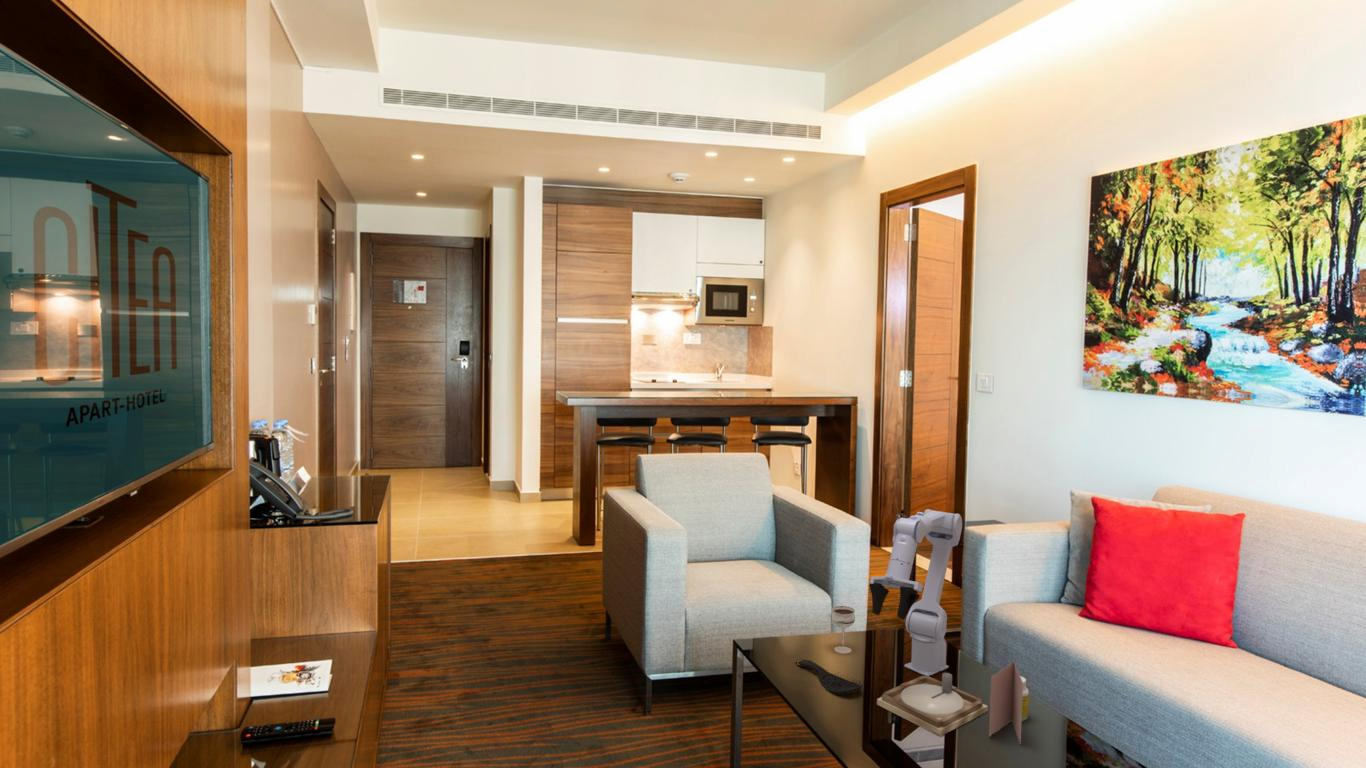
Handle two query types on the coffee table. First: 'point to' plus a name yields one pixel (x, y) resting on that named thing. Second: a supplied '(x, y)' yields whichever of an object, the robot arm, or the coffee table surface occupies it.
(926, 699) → the dial
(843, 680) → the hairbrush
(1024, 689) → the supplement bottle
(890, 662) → the coffee table surface
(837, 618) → the wineglass
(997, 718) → the greeting card
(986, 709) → the dial housing
